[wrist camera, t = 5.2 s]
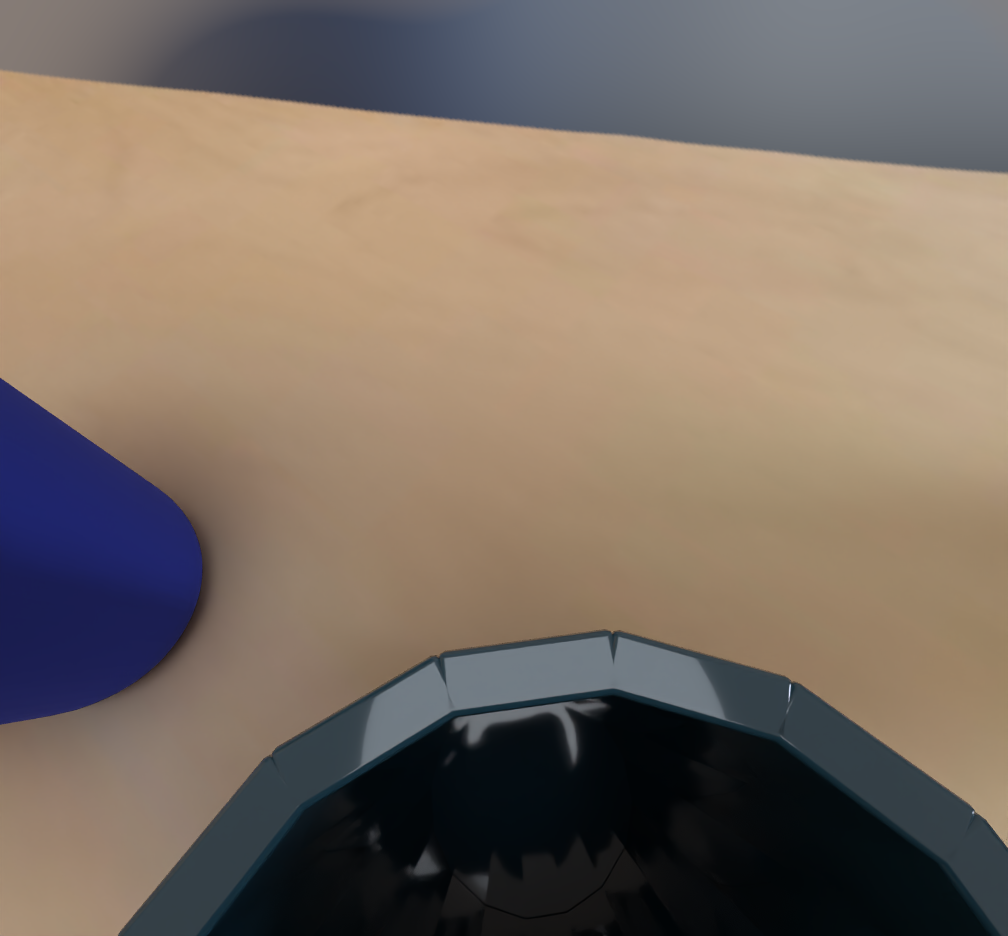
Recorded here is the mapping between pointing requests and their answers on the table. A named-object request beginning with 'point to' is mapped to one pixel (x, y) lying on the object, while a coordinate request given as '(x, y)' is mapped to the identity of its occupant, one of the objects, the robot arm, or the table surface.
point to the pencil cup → (586, 812)
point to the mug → (82, 567)
